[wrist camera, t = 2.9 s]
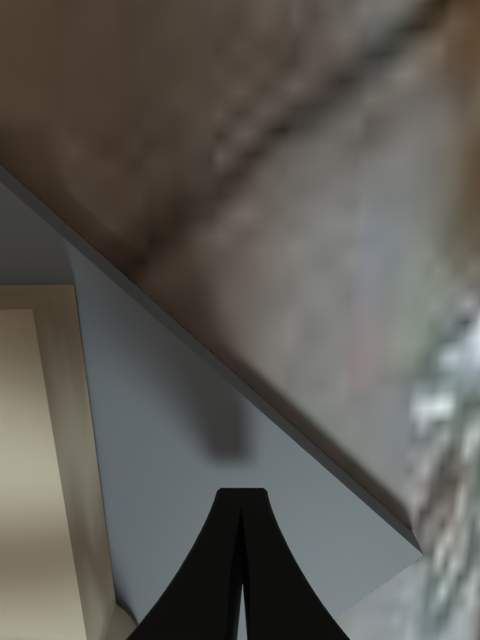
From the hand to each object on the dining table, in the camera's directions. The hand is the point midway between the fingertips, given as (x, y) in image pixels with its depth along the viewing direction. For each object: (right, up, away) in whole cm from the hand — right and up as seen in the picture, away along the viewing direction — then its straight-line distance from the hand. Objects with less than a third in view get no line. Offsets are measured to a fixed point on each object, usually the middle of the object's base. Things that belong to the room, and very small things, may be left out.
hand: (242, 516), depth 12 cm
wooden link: (-6, -1, +2) cm, 6 cm away
